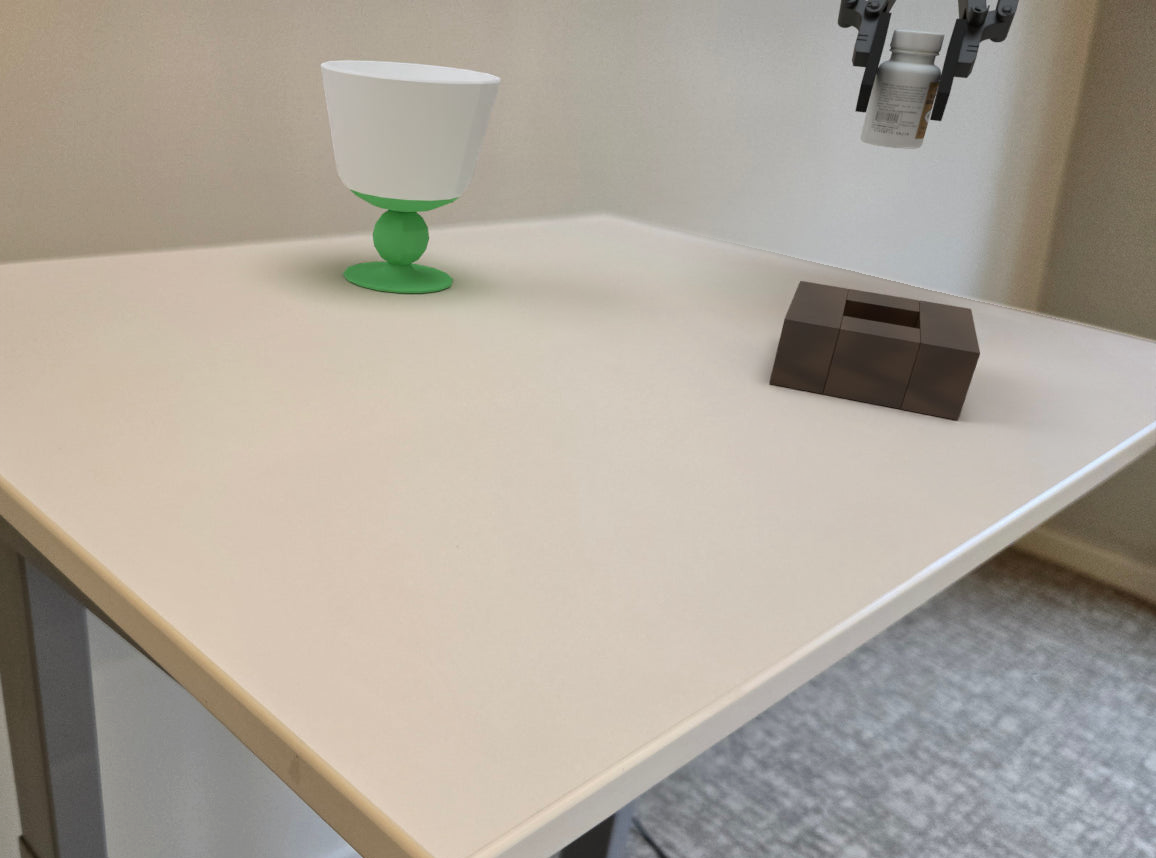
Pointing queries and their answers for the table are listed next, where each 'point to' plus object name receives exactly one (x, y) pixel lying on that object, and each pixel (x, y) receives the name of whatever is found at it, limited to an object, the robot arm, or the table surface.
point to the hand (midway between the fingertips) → (901, 102)
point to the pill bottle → (904, 91)
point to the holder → (877, 349)
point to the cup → (405, 154)
